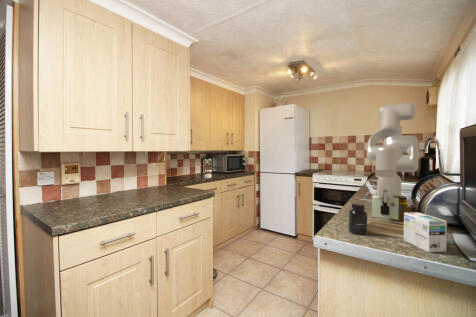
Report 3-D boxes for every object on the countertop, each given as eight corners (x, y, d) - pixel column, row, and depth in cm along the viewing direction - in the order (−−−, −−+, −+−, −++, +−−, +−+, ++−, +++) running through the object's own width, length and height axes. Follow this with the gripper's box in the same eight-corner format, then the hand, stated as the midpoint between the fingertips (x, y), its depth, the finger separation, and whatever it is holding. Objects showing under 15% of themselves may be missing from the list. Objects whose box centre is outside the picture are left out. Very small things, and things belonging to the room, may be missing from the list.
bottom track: (367, 226, 99) (367, 220, 99) (406, 232, 92) (406, 225, 92) (366, 231, 93) (366, 224, 93) (408, 238, 86) (408, 231, 86)
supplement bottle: (360, 236, 88) (360, 206, 88) (344, 231, 94) (345, 203, 94) (370, 233, 91) (371, 204, 91) (355, 228, 97) (355, 201, 97)
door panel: (371, 214, 106) (372, 195, 105) (397, 217, 101) (398, 197, 100) (371, 216, 103) (372, 197, 103) (398, 219, 98) (398, 199, 97)
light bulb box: (447, 252, 74) (448, 220, 74) (428, 253, 74) (429, 221, 74) (418, 239, 85) (419, 211, 85) (402, 240, 85) (403, 212, 84)
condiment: (410, 221, 107) (411, 196, 106) (403, 224, 102) (403, 198, 101) (393, 217, 113) (393, 194, 112) (385, 220, 108) (386, 196, 108)
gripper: (375, 171, 109) (375, 207, 111) (375, 175, 96) (375, 217, 97) (393, 171, 105) (393, 209, 107) (396, 176, 92) (396, 220, 93)
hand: (384, 212), depth 102 cm, fingers closed on door panel, 3 cm apart
